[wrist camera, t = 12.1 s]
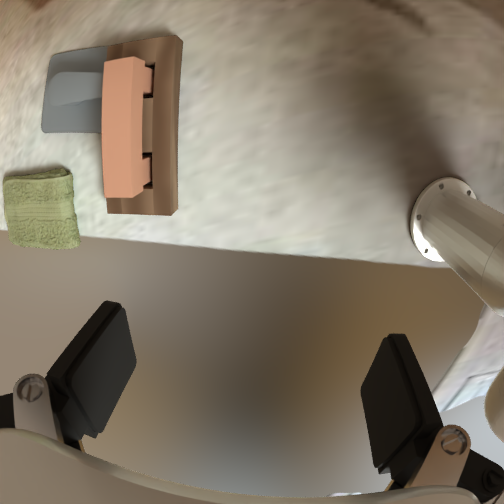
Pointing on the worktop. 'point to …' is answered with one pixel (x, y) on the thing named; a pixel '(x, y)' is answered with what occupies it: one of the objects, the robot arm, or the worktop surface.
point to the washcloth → (41, 210)
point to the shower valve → (74, 92)
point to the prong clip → (124, 127)
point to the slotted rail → (156, 125)
